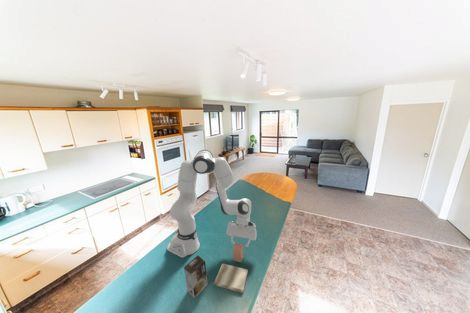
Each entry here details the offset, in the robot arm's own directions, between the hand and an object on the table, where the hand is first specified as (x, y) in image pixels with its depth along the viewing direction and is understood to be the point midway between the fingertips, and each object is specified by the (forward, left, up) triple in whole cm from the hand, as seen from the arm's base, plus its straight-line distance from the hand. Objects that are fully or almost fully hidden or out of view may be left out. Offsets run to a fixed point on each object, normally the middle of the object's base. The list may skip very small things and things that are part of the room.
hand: (239, 245), depth 107 cm
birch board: (0, -17, -8) cm, 18 cm away
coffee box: (-16, -27, -8) cm, 32 cm away
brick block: (0, -3, -8) cm, 8 cm away
